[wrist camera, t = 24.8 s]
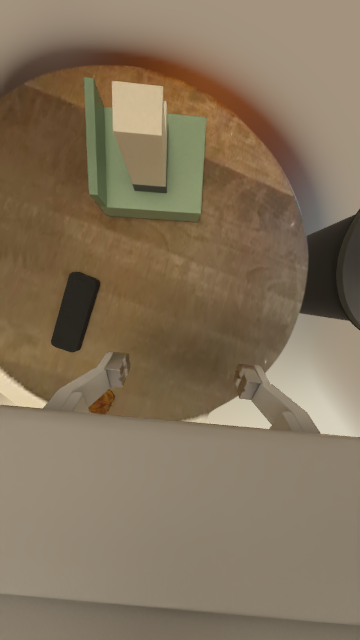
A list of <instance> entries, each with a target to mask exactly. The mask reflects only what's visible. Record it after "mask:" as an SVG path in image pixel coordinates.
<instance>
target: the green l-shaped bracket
mask: <svg viewBox="0 0 360 640" xmlns="http://www.w3.org/2000/svg"><path fill="white" fill-rule="evenodd" d="M84 92H85V115H86V137H87V159H88V182H89V195H90V196H91V197H92V198H93V199H94V201H95V202H96V203H97V204H98V205H99V206H100V208H101V209H102V210H103V211H104V212H105V214H106V215H107V216H117V217H131V218H146V219H161V220H175V221H190V222H198V220H199V217H200V214H201V200H202V184H203V167H204V151H205V135H206V119H207V118H206V117H200V116H190V115H179V114H169V113H167V121H168V129H169V138H168V172H167V193H157V192H144V191H135V190H134V187H133V185H132V181H131V178H130V175H129V173H128V170H127V167H126V165H125V162H124V159H123V157H122V154H121V151H120V149H119V146H118V143H117V140H116V138H115V135H114V132H113V111H112V108H109V107H104V105H103V102H102V100H101V97H100V94H99V92H98V89H97V86H96V84H95V81H94V78H88V77H84Z"/></svg>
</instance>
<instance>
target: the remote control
mask: <svg viewBox="0 0 360 640" xmlns="http://www.w3.org/2000/svg"><path fill="white" fill-rule="evenodd" d="M99 286H100V283H99V281H98V280H97V279H96V278H93V277H90V276H88V275H85V274H83V273H80V272H72V273H70V275H69V278H68V281H67V285H66V289H65V292H64V296H63V300H62V303H61V307H60V311H59V314H58V318H57V322H56V325H55V329H54V333H53V336H52V340H51V343H52V345H53V346H55V347H57V348H60V349H63V350H66V351H69V352H75V351H78V350H79V349H80V348H81V345H82V341H83V338H84V335H85V331H86V328H87V325H88V322H89V318H90V315H91V312H92V309H93V305H94V302H95V299H96V295H97V292H98V289H99Z"/></svg>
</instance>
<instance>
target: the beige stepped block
mask: <svg viewBox="0 0 360 640" xmlns="http://www.w3.org/2000/svg"><path fill="white" fill-rule="evenodd" d="M112 111H113V132H114V135H115V138H116V140H117V143H118V146H119V149H120V151H121V154H122V157H123V159H124V162H125V165H126V167H127V170H128V173H129V175H130V178H131V181H132V185H133V187H134V190H135V191H144V192H157V193H167V172H168V138H169V129H168V121H167V102H166V101H164V97H163V86H154V85H145V84H136V83H127V82H117V81H112Z"/></svg>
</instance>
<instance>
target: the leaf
mask: <svg viewBox="0 0 360 640" xmlns="http://www.w3.org/2000/svg"><path fill="white" fill-rule="evenodd" d="M113 399H114V396H113V394H112V392H111V391H110V390H107V391H106V392H105V393H104V394H103V395H102V396H101V397H99V398H98V399H97V400H96V401H95V402H94V403H93V404H92V405H90V406H89V407H88V409H89V411H91V412H93V413H96V414H105V413H107V411H108V410H109V404H110V403H112V402H113ZM110 405H111V404H110ZM111 407H112V405H111Z"/></svg>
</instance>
